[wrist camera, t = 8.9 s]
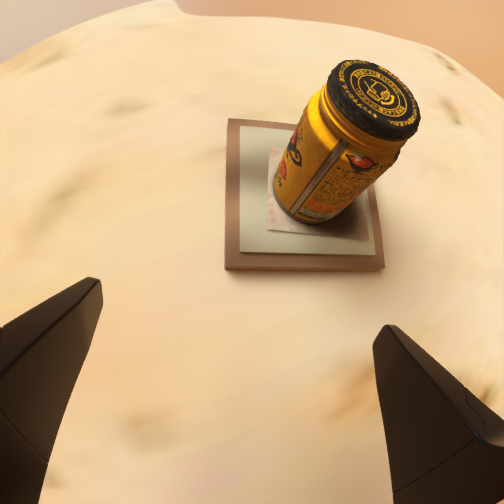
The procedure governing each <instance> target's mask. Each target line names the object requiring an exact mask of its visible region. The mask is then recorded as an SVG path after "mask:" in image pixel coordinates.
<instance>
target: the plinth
mask: <svg viewBox="0 0 504 504" xmlns="http://www.w3.org/2000/svg"><path fill="white" fill-rule="evenodd" d="M296 127H297V125H295V124H286V123H278V122H268V121H258V120H246V119H231V118H229V119H228V125H227V152H226V193H225V269H241V270H338V271H378V270H380V269H383V268H385V264H384V254H383V245H382V237H381V230H380V223H379V216H378V209H377V203H376V197H375V191H374V185H373V183H372V184H371V185H370V186H369V187H368V188H367V189H365V190H364V196H365V206H366V214H367V225H368V232H369V240H363V239H354V238H344V237H336V236H329V235H315V234H305V233H298V232H288V231H280V230H271V229H266V226H267V194H268V165H269V146H271V147H275V148H281V149H286V148H287V146H288V143H289V142H290V138H291V137H292V136H293V133H294V131H295V129H296Z"/></svg>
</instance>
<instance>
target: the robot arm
mask: <svg viewBox="0 0 504 504" xmlns="http://www.w3.org/2000/svg"><path fill="white" fill-rule="evenodd" d="M102 307H103V295H102V285H101V281H100V280H99V279H97V278H92V277H87V278H85V279H83V280H81V281H79V282H77V283H76V284H74V285H72V286H70V287H68V288H67V289H65V290H63V291H61V292H60V293H58V294H56V295H54V296H53V297H51V298H49V299H47V300H46V301H44V302H42V303H40V304H39V305H37V306H35V307H34V308H32V309H30V310H29V311H27V312H25V313H24V314H22V315H20V316H19V317H17V318H15V319H14V320H12V321H10V322H9V323H7V324H5V325H4V326H3V328H2V327H0V504H38V502H39V498H40V494H41V490H42V486H43V482H44V478H45V474H46V470H47V467H48V464H47V463H49V459H50V456H51V452H52V449H53V446H54V442H55V439H56V436H57V433H58V430H59V427H60V424H61V421H62V418H63V415H64V412H65V410H66V407H67V404H68V401H69V399H70V396H71V393H72V391H73V388H74V385H75V383H76V380H77V378H78V375H79V373H80V370H81V368H82V365H83V363H84V361H85V358H86V356H87V353H88V351H89V348H90V345H91V342H92V338H93V335H94V332H95V329H96V325H97V322H98V319H99V316H100V313H101V310H102ZM373 357H374V366H375V376H376V385H377V391H378V397H379V402H380V407H381V413H382V419H383V425H384V431H385V437H386V444H387V450H388V458H389V465H390V473H391V482H392V491H393V503H394V504H504V420H503V419H502V418H501V417H499V416H498V415H497V414H496V413H495V412H493V411H492V410H491V409H490V408H488V407H487V406H486V405H485V404H484V403H482V402H481V401H480V400H479V399H478V398H477V397H476V396H475V395H473V394H472V393H471V392H470V391H469V390H468V389H467V388H466V387H464V385H463V384H461V383H460V382H459V381H458V380H457V379H456V378H455V377H454V376H453V375H452V374H450V373H449V372H448V371H447V370H446V369H445V368H444V367H443V366H442V365H440V364H439V363H438V362H437V361H436V360H435V359H434V358H433V357H431V356H430V355H429V354H428V353H427V352H426V351H425V350H424V349H422V348H421V347H420V346H419V345H418V344H417V343H416V342H414V341H413V340H412V339H411V338H410V337H409V336H408V335H406V334H405V333H404V332H403V331H402V330H401V329H399V328H398V327H397V326H395V325H384V326H383V327H382V329H381V331H380V332H379V334H378V336H377V337H376V339H375V340H374V343H373Z"/></svg>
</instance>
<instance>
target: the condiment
mask: <svg viewBox="0 0 504 504" xmlns="http://www.w3.org/2000/svg"><path fill="white" fill-rule="evenodd" d="M420 119H421V116H420V111H419V107H418V104H417V102H416V100H415V99H414V97H413V94H412V93H411V92H410V90H409V89H408V88H407V87H406V86H405V85H404V84H403V83H402V82H401V81H400V80H399V79H398V78H397V77H396V76H395V75H394V74H392V73H391V72H389V71H388V70H386V69H385V68H382V67H381V66H379V65H376V64H374V63H370V62H367V61H361V60H345V61H343V62H341V63H339V64H338V65H337V66H336V67H335V68H334V69H333V70H332V71H331V74H330V75H329V77H328V80H327V83H325V85H324V86H323V87H322V89H321V90H319V91H317V92H316V93H315V94H314V95H313V96H312V97H311V99H310V100H309V102H308V104H307V106H306V108H305V109H304V110H303V114H302V117H301V119H300V121H299V123H298V125H297V127H296V129H295V131H294V133H293V136H292V137H291V138H290V142H289V143H288V146H287V148H286V149H281V148H275V147H271V146H269V165H268V194H267V226H266V229H271V230H280V231H288V232H298V233H305V234H315V235H329V236H336V237H344V238H354V239H363V240H369V232H368V225H367V214H366V206H365V196H364V190H365V189H367V188H368V187H369V186H370V185H371V184H372V183H373V182H375V181H376V180H377V179H378V178H379V177H380V176H381V175H382V174H383V173H384V172H385V171H386V170H387V169H389V168H390V167H391V166H392V165H393V164H394V163H395V161H396V160H397V158H398V156H399V154H400V149H401V148H402V147H403V146H404V145H405V143H406V142H407V140H408V139H409V138H410V137H411V136H413V135H414V134H415V133H416V132H417V129H418V126H419V122H420Z"/></svg>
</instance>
